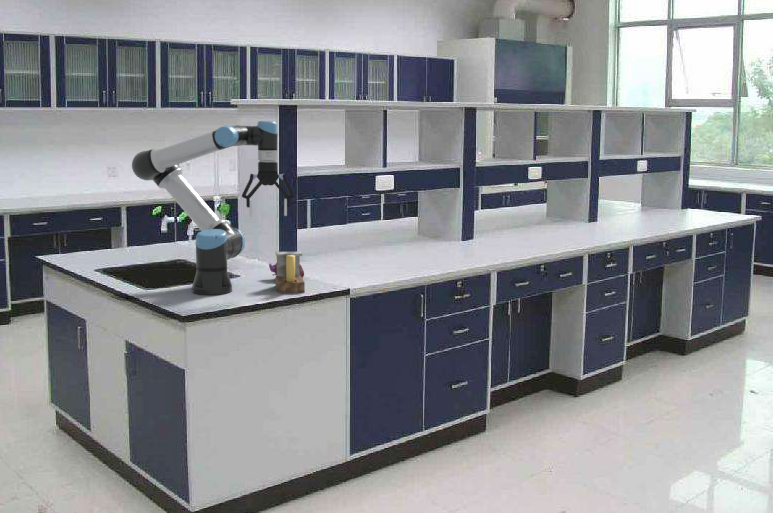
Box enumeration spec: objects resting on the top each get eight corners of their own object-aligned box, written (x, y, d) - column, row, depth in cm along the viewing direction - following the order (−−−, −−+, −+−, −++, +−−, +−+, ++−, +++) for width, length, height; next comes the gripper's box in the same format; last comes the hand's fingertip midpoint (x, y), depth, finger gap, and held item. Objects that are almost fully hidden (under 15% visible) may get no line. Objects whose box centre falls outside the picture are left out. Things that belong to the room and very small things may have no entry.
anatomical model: (304, 275, 358) (269, 269, 357) (307, 255, 354) (271, 249, 353) (300, 288, 347) (264, 282, 346) (303, 268, 343) (267, 261, 342)
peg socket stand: (278, 293, 324) (278, 257, 321) (275, 285, 337) (275, 251, 335) (304, 292, 326) (304, 257, 324) (300, 285, 339) (300, 251, 337)
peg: (286, 290, 329) (285, 255, 327) (294, 290, 330) (294, 255, 327) (286, 292, 326) (286, 256, 323) (295, 292, 326) (295, 256, 324)
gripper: (235, 161, 319) (236, 217, 323) (301, 162, 324) (301, 216, 328) (234, 160, 326) (235, 214, 330) (298, 160, 332) (298, 214, 335)
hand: (268, 215), depth 329 cm, fingers open, 13 cm apart
